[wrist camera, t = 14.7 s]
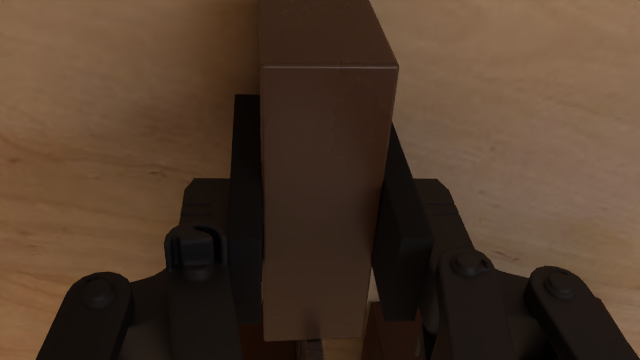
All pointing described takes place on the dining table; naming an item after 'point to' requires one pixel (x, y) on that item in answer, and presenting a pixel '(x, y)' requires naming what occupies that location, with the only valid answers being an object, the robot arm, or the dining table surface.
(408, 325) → the beige square block
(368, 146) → the knife
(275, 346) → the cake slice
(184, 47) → the dining table surface
